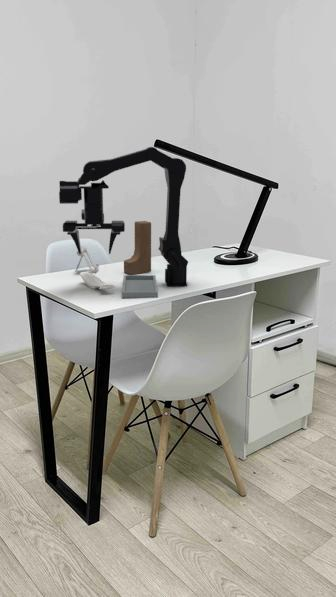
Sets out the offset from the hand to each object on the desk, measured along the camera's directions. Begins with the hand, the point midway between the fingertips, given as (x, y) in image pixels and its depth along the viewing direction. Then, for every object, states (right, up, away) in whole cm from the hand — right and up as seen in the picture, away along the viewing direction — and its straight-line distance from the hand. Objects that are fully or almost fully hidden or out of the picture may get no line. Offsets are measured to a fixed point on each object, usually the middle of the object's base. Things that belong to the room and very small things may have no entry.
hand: (94, 253), depth 175 cm
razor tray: (+14, -11, +2) cm, 18 cm away
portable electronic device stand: (-7, -4, +28) cm, 29 cm away
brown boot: (+12, -5, +25) cm, 28 cm away
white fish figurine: (0, -11, +3) cm, 11 cm away
